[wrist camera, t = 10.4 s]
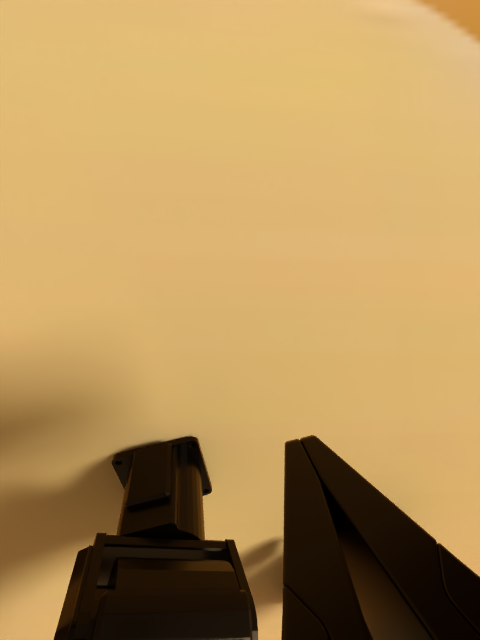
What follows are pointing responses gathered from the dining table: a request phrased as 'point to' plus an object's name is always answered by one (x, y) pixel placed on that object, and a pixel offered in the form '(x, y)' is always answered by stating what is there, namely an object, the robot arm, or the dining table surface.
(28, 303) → the dining table surface
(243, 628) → the robot arm
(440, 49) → the dining table surface
